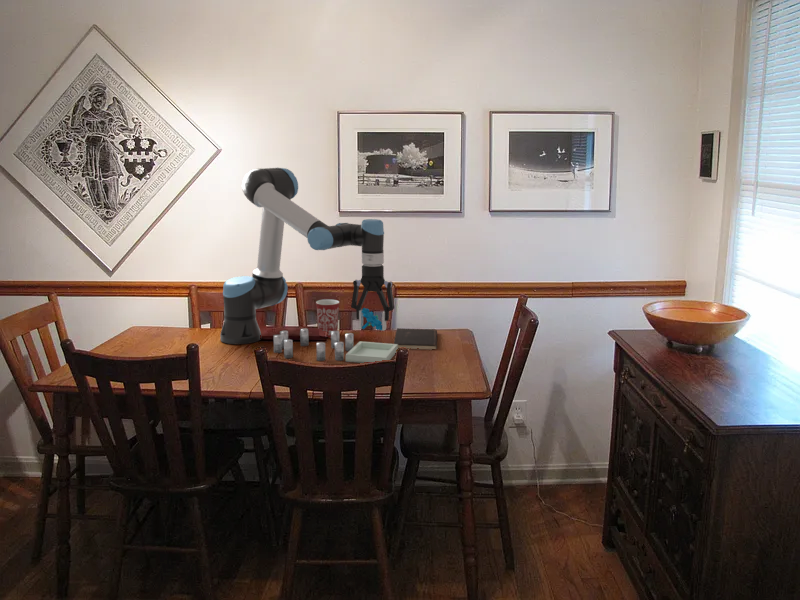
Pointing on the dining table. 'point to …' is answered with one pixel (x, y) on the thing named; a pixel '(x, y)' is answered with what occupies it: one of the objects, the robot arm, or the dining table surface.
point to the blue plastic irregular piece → (371, 319)
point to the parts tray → (371, 352)
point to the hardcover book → (416, 338)
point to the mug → (327, 315)
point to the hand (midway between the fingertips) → (372, 328)
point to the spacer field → (287, 344)
